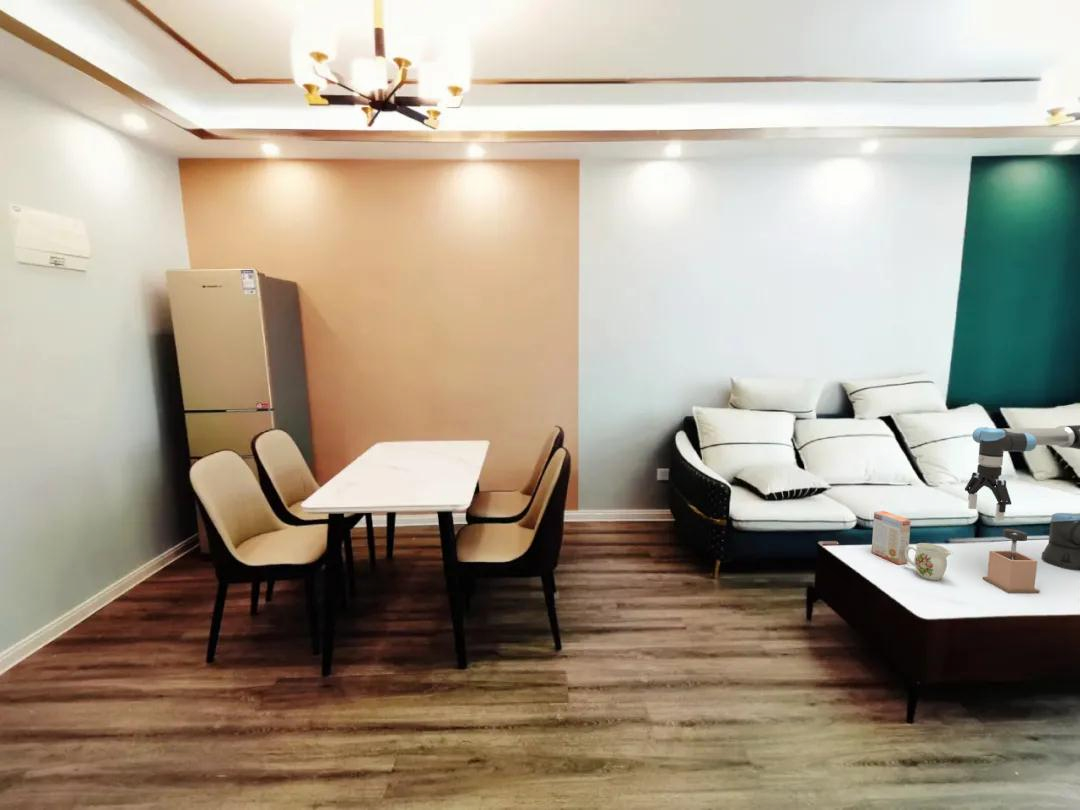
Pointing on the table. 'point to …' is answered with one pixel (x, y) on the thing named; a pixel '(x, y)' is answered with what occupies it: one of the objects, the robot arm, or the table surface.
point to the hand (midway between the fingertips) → (985, 513)
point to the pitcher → (929, 560)
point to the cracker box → (890, 536)
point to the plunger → (1014, 539)
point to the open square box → (1012, 572)
